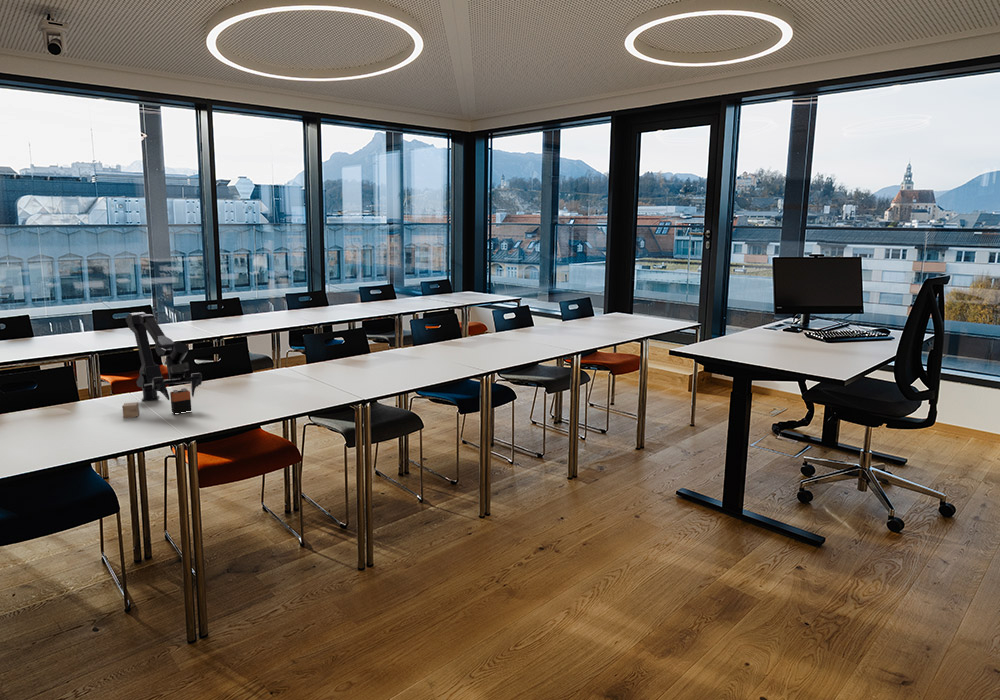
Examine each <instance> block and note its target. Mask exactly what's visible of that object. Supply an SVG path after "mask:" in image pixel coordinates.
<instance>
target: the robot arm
mask: <svg viewBox="0 0 1000 700" xmlns="http://www.w3.org/2000/svg"><path fill="white" fill-rule="evenodd" d="M125 322H126V324H127V325H128V329H129V330H130V331H132V332H133V333H134V337H135V343H136V345H137V350H138V355H139V360H140V363H141V366H140V368H139V377H138V378H137V380H136V385H137V388H138V387H139V388H141V389H142V398H141V400H147V401H152V400H151V399H158V400H159V398H160V395H158V392H160V394H162V395H163V396H164V397H165V399H166V400H168V401H170V393H169V392H168V388H167V386H166V385H174V384H175V385H176V384H183V383H184V384H185V383H190V390H191V391H190V393H191V397H192V398H194V395H195V391H196V388H197V387H199V386H201V385H202V383H203V375H202V373H201V372H195V373H194V372H193V373H191V374H190V376H188V377H185V375H186V371H189V370H190V365H189V362H188V361H187V362H183V363H182V361H183V360H184V359H185V357H186V356H187V354H188V352H189V350H190V349H189V346H188V344H186V343H183V342H181V340H176V341H173V340H172V339H171V338H169V337H167V336H166V334H165V333H164V331H163V330H162V328H161V327H160V326H159V324H158V323H157V320H156V319H155V316H154V314H151V313H146V312H144V311H141V312H140V311H139V312H131V313H128V314H127V315H126V317H125ZM147 332H148V333H147ZM148 334H149V336H150V337H151V338H152V340H153V343H155V345H154V350H155V352H156V354H157V355H158V356H159V357H162V358H165V357H166V358H165V362H164V365H165V366H166V368H167V373H168V378H167V379H164V376H163V374H162V371H161V368H160V365H158V364H156V363H155V362H154V358H153V353H152V350H151V345H150V342H149V341H150V340H149V337H148ZM158 397H159V398H158Z"/></svg>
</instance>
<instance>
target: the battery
mask: <svg viewBox="0 0 1000 700" xmlns="http://www.w3.org/2000/svg"><path fill="white" fill-rule="evenodd" d="M169 397H170V404H171V405H170V406H171V413H172V412H173V413H174V414H173V413H172V414H173V415H175V413H181V412H186V411H191V410H192V399H191V397H192V396H191V391H190V390H188V388H187V387H186V388H185V387H184V388H181V389H180V390H177V389H174V390H173V391H170V393H169Z"/></svg>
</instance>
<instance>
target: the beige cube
mask: <svg viewBox="0 0 1000 700" xmlns="http://www.w3.org/2000/svg"><path fill="white" fill-rule="evenodd" d="M139 406H140V405H139V401H134V402H124V403H123V405H122V416H123V418H124V419H129V418H128V417H130V418H136V417H135V416H137V417H138V416H139V415H140V407H139ZM138 414H139V415H138Z"/></svg>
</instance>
